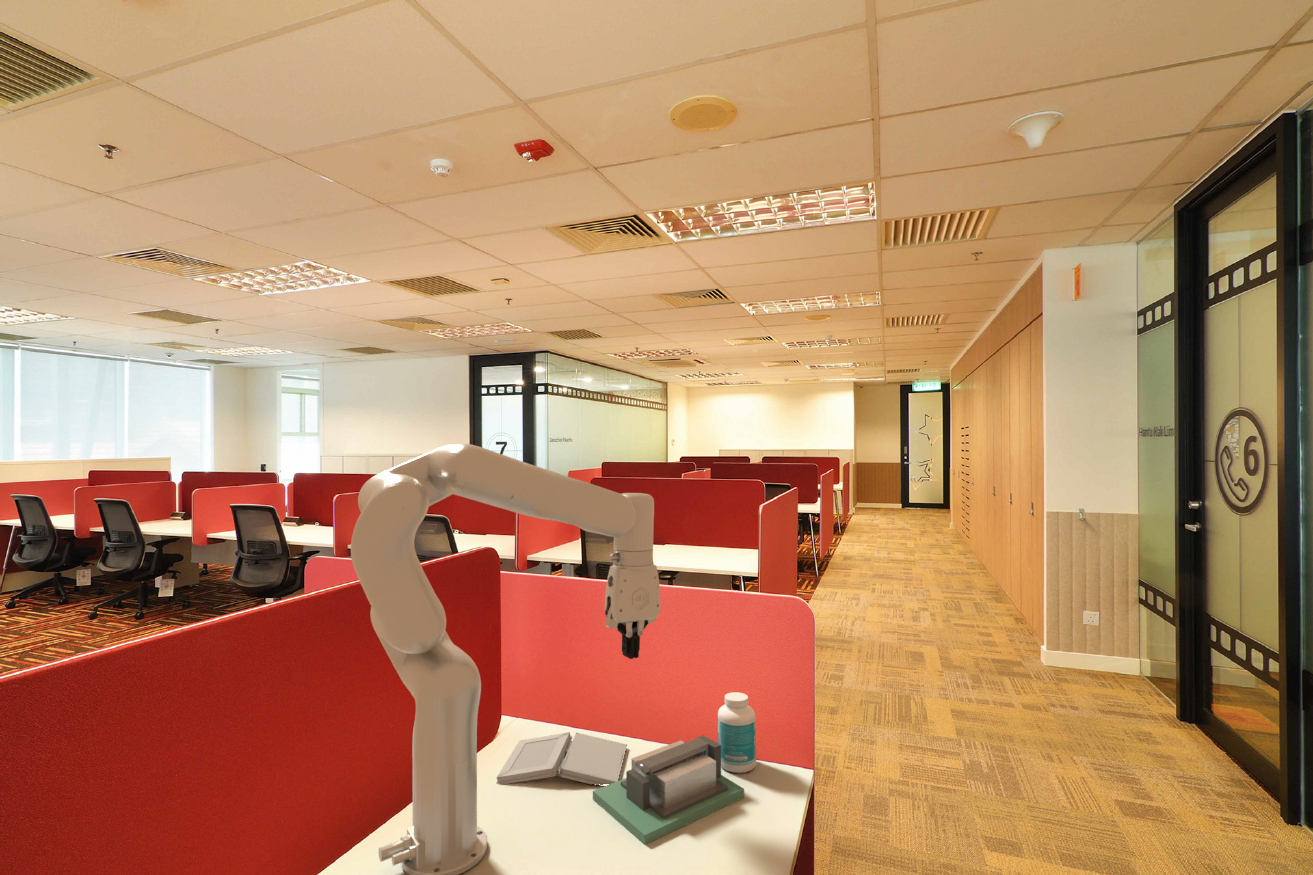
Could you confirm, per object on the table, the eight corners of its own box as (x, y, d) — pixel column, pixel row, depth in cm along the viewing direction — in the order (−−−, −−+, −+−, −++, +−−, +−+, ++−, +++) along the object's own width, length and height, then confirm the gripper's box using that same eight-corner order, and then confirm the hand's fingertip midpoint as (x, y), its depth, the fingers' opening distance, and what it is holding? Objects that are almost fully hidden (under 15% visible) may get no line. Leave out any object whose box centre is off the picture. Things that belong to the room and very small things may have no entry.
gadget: (627, 750, 130) (627, 732, 130) (617, 790, 115) (617, 770, 115) (519, 747, 132) (519, 730, 132) (495, 786, 117) (495, 766, 117)
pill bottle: (763, 770, 121) (762, 700, 121) (729, 777, 118) (728, 706, 118) (744, 752, 128) (743, 686, 128) (711, 759, 125) (711, 692, 125)
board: (644, 844, 98) (644, 797, 98) (592, 799, 111) (592, 757, 111) (744, 797, 111) (743, 755, 112) (687, 761, 124) (687, 724, 124)
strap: (645, 784, 106) (645, 768, 106) (635, 776, 109) (634, 761, 109) (709, 757, 115) (709, 743, 115) (698, 750, 118) (697, 736, 118)
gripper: (609, 564, 110) (606, 668, 109) (676, 558, 119) (674, 655, 118) (588, 558, 116) (585, 657, 115) (654, 553, 125) (651, 645, 124)
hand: (630, 656), depth 117 cm, fingers closed
